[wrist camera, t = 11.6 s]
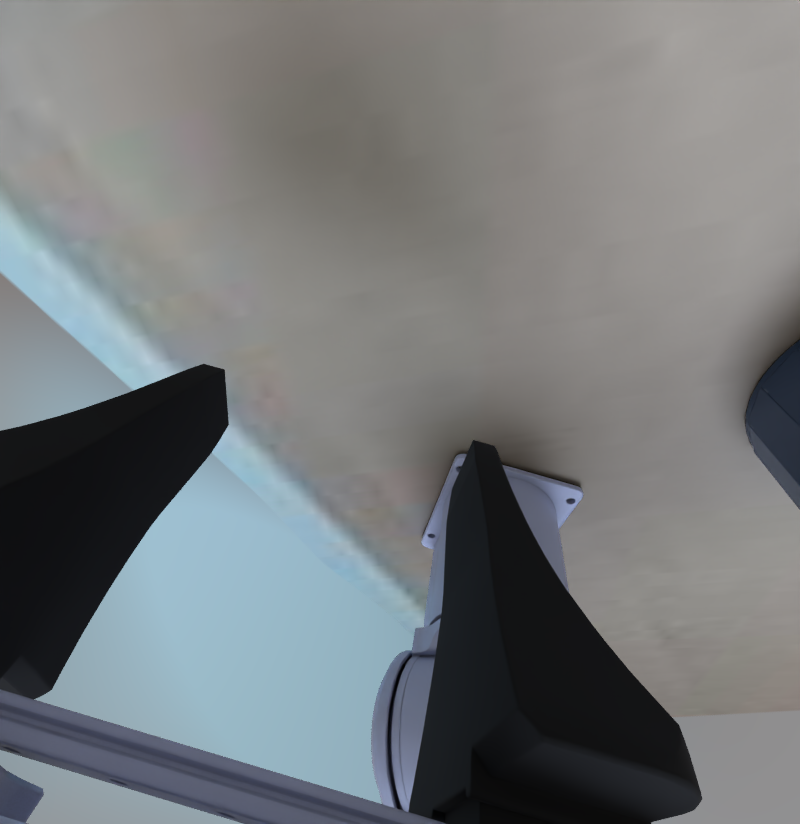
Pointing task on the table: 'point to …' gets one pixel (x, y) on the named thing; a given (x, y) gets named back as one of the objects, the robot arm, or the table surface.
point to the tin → (778, 421)
